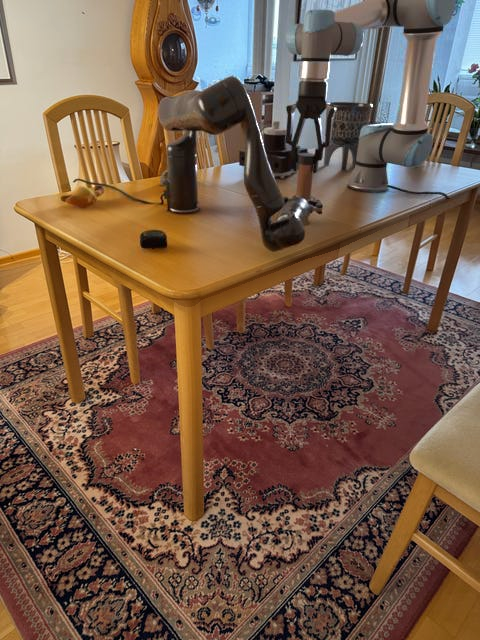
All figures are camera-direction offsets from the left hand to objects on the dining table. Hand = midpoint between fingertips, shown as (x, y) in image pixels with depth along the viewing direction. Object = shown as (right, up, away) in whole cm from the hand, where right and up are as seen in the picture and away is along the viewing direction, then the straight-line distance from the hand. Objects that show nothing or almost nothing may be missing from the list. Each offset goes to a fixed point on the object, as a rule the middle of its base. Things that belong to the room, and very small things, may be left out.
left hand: (304, 198), depth 138 cm
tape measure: (-41, -18, -20) cm, 50 cm away
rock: (-44, +16, +39) cm, 60 cm away
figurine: (+65, +37, +79) cm, 109 cm away
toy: (-71, +2, +13) cm, 72 cm away
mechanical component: (-2, +27, +59) cm, 64 cm away
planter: (+28, +34, +73) cm, 85 cm away
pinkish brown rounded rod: (-1, -7, +1) cm, 7 cm away
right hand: (-1, +6, -7) cm, 9 cm away
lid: (0, +10, -9) cm, 13 cm away
